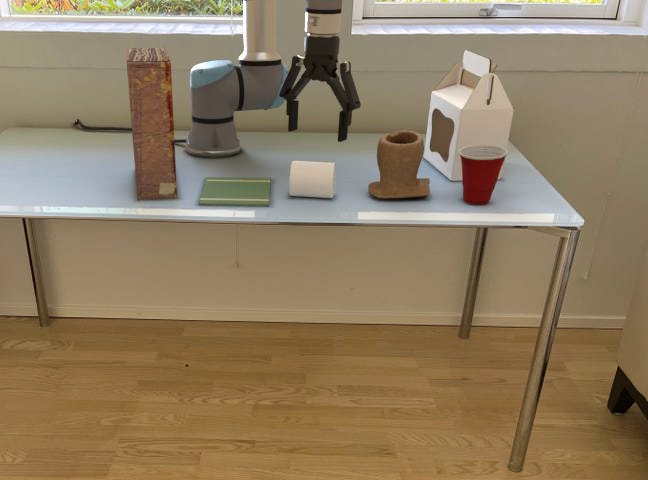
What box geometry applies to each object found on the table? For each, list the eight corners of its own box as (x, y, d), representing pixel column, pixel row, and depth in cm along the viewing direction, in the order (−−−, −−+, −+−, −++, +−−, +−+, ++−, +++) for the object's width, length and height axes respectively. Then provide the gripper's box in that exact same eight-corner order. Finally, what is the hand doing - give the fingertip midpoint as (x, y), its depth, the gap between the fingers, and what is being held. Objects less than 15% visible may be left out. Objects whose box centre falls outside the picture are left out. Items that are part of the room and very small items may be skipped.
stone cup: (374, 205, 165) (380, 138, 158) (364, 189, 175) (369, 126, 168) (439, 204, 166) (448, 138, 158) (425, 188, 176) (433, 125, 169)
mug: (331, 202, 167) (333, 168, 163) (288, 200, 168) (289, 166, 164) (335, 187, 177) (337, 154, 173) (295, 184, 178) (296, 152, 174)
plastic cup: (445, 194, 172) (452, 143, 166) (489, 193, 173) (498, 142, 167) (459, 209, 163) (468, 156, 157) (506, 208, 164) (516, 155, 158)
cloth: (198, 205, 165) (198, 202, 165) (207, 178, 182) (206, 176, 182) (269, 206, 164) (269, 204, 164) (270, 179, 182) (270, 177, 181)
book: (136, 169, 189) (126, 45, 173) (172, 168, 190) (165, 44, 174) (137, 201, 167) (126, 62, 152) (177, 199, 168) (170, 61, 153)
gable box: (501, 180, 182) (523, 61, 168) (451, 181, 181) (468, 62, 167) (468, 156, 201) (485, 47, 187) (422, 157, 200) (436, 48, 186)
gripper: (265, 30, 158) (263, 129, 170) (363, 42, 145) (355, 148, 157) (285, 27, 163) (282, 123, 175) (382, 38, 150) (372, 141, 162)
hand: (316, 135), depth 166 cm, fingers open, 13 cm apart
